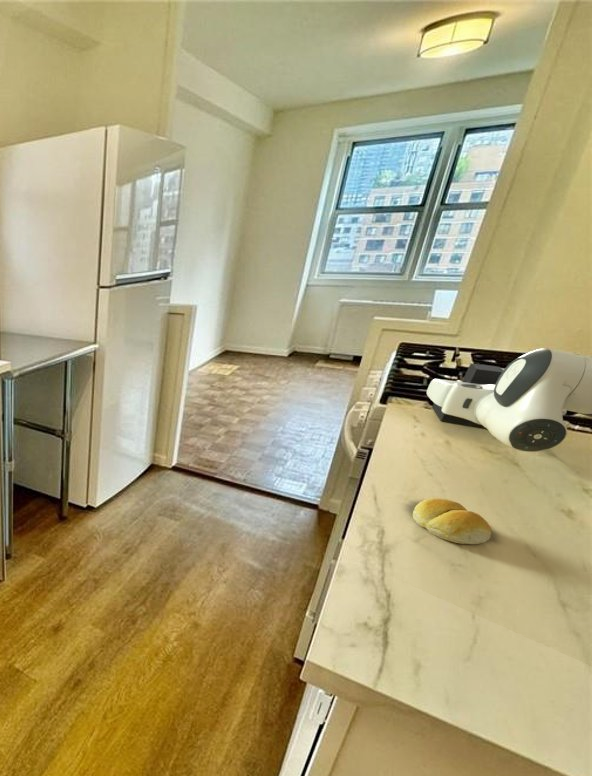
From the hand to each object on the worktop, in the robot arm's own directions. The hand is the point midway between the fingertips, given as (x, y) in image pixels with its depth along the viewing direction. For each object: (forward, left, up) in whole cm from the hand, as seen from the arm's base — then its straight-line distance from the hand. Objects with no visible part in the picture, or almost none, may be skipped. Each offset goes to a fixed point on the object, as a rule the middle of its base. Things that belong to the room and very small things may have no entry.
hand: (476, 385), depth 110 cm
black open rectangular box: (0, +1, -8) cm, 8 cm away
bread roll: (+13, +58, -8) cm, 60 cm away
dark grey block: (0, +1, -5) cm, 6 cm away
